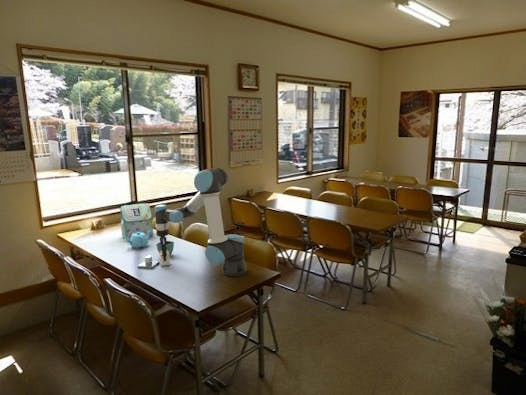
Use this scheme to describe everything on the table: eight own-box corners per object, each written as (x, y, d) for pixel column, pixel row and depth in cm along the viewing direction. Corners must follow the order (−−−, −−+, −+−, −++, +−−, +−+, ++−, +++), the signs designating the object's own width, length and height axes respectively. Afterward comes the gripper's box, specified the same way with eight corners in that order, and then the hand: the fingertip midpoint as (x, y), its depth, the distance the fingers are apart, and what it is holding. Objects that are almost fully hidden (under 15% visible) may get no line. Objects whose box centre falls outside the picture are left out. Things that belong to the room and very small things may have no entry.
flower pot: (164, 252, 272) (163, 240, 270) (175, 253, 269) (174, 241, 267) (156, 256, 264) (156, 244, 262) (167, 258, 261) (167, 245, 259)
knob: (169, 261, 253) (168, 249, 252) (170, 264, 248) (169, 252, 246) (160, 262, 252) (159, 250, 250) (160, 266, 246) (159, 253, 244)
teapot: (135, 243, 293) (133, 228, 291) (152, 243, 291) (151, 229, 289) (125, 250, 278) (124, 235, 276) (143, 250, 276) (142, 235, 274)
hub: (159, 263, 252) (159, 254, 250) (152, 269, 242) (151, 260, 241) (145, 262, 254) (145, 253, 253) (137, 267, 244) (137, 258, 243)
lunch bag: (124, 241, 297) (121, 207, 291) (120, 236, 310) (117, 203, 305) (154, 237, 308) (152, 204, 302) (149, 232, 322) (147, 200, 316)
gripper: (155, 225, 253) (158, 259, 257) (156, 233, 235) (159, 269, 240) (167, 224, 255) (169, 257, 260) (169, 232, 237) (171, 267, 242)
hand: (164, 263), depth 250 cm, fingers closed on knob, 6 cm apart
